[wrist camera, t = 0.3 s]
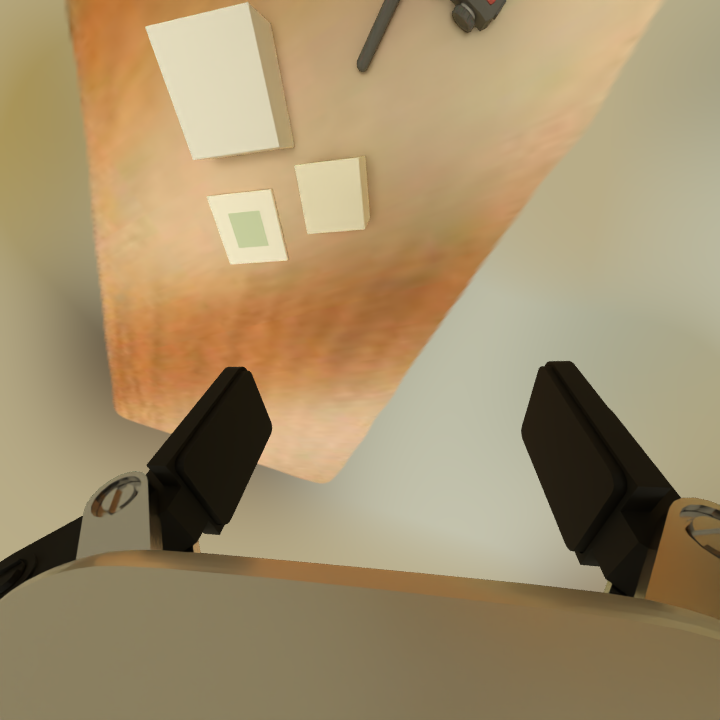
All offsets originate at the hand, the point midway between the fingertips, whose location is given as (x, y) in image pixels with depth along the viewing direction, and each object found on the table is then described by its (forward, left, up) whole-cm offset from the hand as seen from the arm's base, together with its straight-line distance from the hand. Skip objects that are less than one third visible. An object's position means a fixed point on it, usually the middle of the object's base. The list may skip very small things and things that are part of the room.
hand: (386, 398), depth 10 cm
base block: (-13, -15, -30) cm, 36 cm away
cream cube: (-4, -6, -30) cm, 31 cm away
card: (-1, -18, -30) cm, 35 cm away
